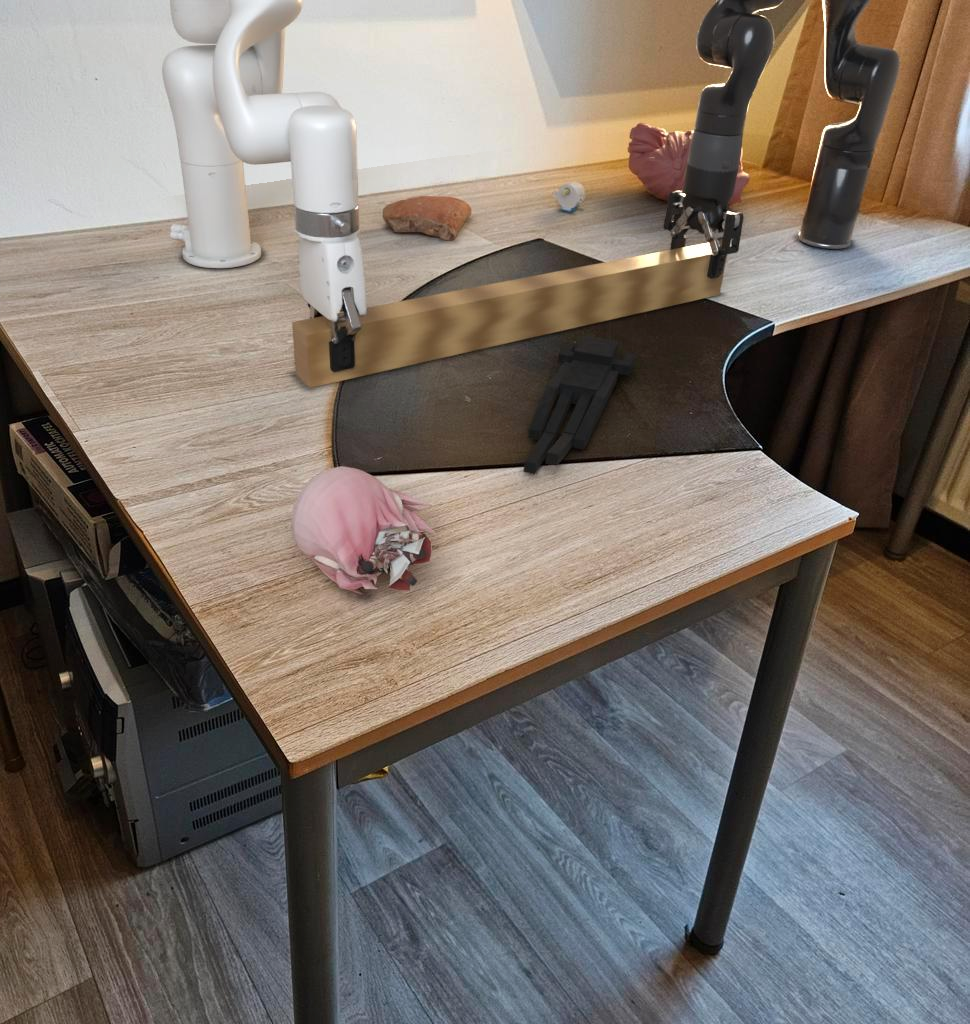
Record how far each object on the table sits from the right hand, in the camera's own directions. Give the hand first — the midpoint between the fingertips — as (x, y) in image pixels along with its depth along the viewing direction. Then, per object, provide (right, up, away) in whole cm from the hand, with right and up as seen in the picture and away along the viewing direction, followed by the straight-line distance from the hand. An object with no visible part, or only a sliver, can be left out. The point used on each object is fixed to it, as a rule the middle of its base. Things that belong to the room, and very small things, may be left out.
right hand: (694, 268), depth 151 cm
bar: (-26, -12, -12) cm, 31 cm away
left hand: (-52, -19, -28) cm, 62 cm away
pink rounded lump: (-44, -44, -61) cm, 87 cm away
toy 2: (-22, -27, -34) cm, 49 cm away
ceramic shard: (-44, +14, +25) cm, 52 cm away
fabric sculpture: (+10, +30, +53) cm, 62 cm away
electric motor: (-17, +21, +37) cm, 45 cm away
